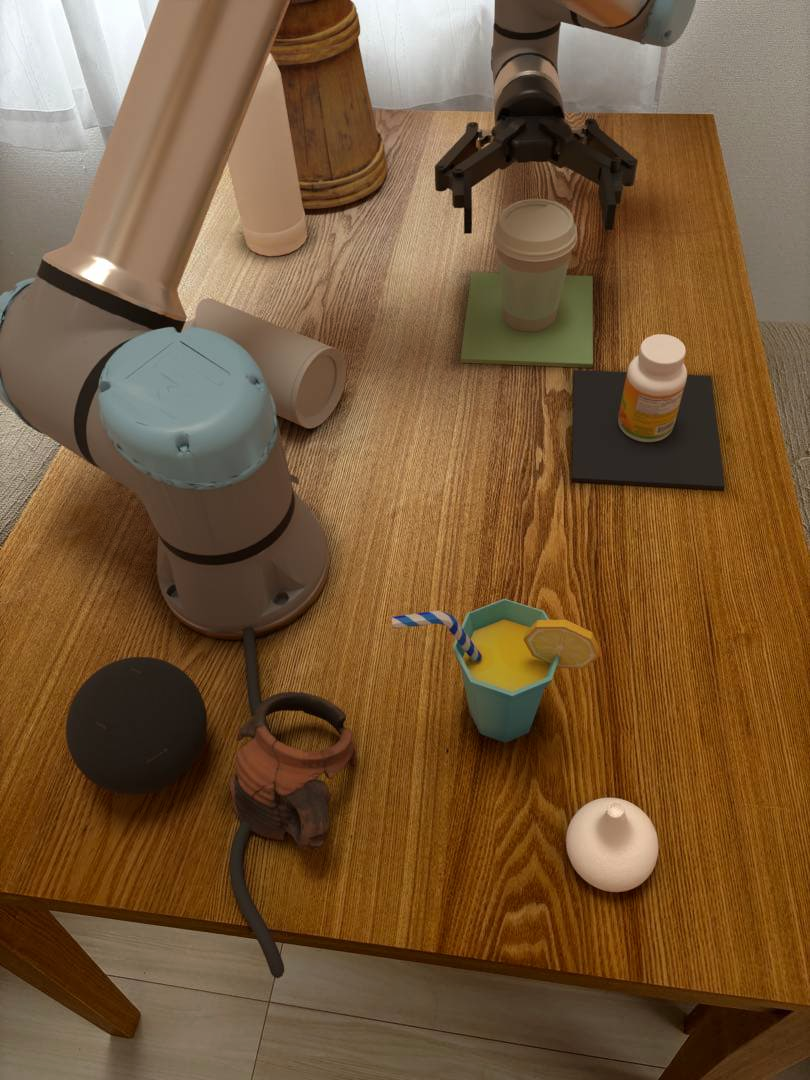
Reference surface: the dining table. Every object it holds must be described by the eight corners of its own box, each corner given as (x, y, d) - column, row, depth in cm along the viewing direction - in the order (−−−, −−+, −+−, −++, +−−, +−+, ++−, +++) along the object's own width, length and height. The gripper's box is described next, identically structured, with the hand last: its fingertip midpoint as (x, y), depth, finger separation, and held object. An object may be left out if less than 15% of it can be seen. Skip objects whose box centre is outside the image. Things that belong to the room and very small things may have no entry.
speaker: (188, 828, 65) (149, 778, 57) (70, 795, 67) (16, 742, 59) (239, 709, 70) (210, 648, 62) (129, 682, 72) (87, 619, 64)
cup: (404, 760, 67) (390, 667, 55) (404, 670, 72) (391, 566, 60) (586, 755, 66) (612, 661, 54) (574, 665, 71) (596, 560, 59)
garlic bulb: (654, 903, 60) (676, 869, 53) (562, 889, 61) (573, 854, 54) (653, 813, 63) (674, 771, 57) (566, 802, 64) (577, 759, 58)
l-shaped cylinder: (295, 308, 98) (125, 370, 94) (288, 239, 89) (99, 304, 84) (364, 428, 92) (185, 500, 87) (364, 367, 82) (164, 445, 78)
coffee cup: (567, 291, 99) (578, 195, 89) (568, 341, 94) (580, 245, 84) (492, 290, 100) (494, 194, 90) (489, 339, 94) (491, 244, 85)
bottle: (285, 212, 112) (236, -52, 88) (320, 238, 108) (280, -31, 84) (233, 238, 110) (168, -28, 86) (268, 265, 106) (210, -5, 82)
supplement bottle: (622, 400, 88) (637, 324, 80) (676, 410, 87) (697, 333, 79) (613, 438, 85) (628, 362, 77) (669, 448, 84) (689, 373, 76)
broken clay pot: (208, 772, 68) (224, 689, 64) (318, 754, 72) (339, 677, 69) (256, 897, 59) (278, 810, 55) (379, 868, 64) (406, 786, 60)
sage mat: (592, 368, 92) (593, 363, 91) (460, 362, 93) (460, 358, 93) (592, 280, 101) (592, 275, 100) (471, 276, 102) (471, 272, 102)
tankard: (239, 212, 113) (191, 3, 93) (279, 120, 127) (244, -80, 107) (376, 216, 111) (356, 2, 91) (401, 121, 124) (388, -82, 104)
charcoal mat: (723, 490, 81) (724, 486, 80) (571, 481, 83) (572, 477, 82) (710, 379, 90) (711, 375, 89) (573, 373, 91) (573, 369, 91)
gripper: (637, 138, 98) (663, 250, 85) (417, 145, 100) (411, 256, 87) (648, 69, 92) (678, 179, 79) (414, 78, 94) (407, 187, 81)
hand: (538, 219), depth 83 cm, fingers open, 13 cm apart
